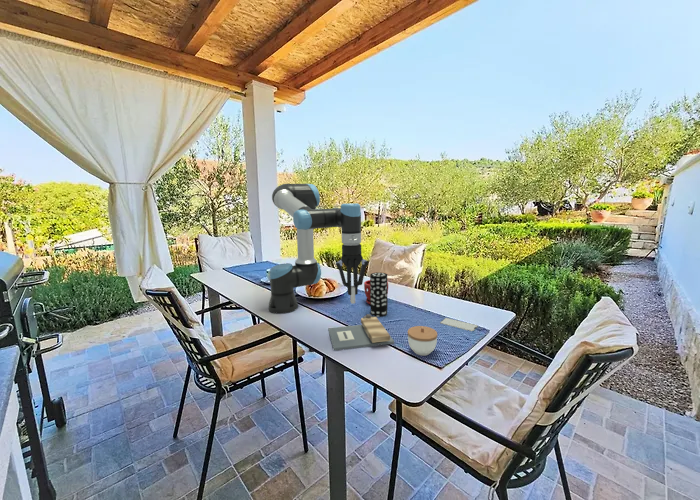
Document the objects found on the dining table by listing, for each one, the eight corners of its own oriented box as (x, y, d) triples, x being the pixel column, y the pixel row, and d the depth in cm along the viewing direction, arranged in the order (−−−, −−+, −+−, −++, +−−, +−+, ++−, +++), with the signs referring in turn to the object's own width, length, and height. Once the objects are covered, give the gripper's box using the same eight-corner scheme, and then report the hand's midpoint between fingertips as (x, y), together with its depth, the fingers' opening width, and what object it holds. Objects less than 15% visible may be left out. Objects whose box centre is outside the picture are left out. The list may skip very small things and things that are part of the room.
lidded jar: (404, 345, 115) (404, 322, 113) (430, 343, 116) (431, 321, 114) (412, 360, 104) (412, 335, 103) (441, 358, 105) (442, 333, 103)
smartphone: (445, 317, 140) (478, 325, 130) (445, 318, 140) (478, 326, 130) (439, 322, 134) (473, 331, 125) (439, 324, 134) (473, 332, 125)
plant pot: (392, 301, 164) (392, 280, 162) (381, 308, 153) (381, 286, 151) (371, 297, 171) (371, 277, 169) (359, 304, 160) (359, 283, 158)
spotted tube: (386, 317, 142) (386, 277, 138) (369, 316, 144) (369, 276, 140) (387, 310, 150) (388, 272, 146) (371, 309, 152) (371, 272, 148)
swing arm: (359, 320, 133) (359, 313, 132) (374, 318, 134) (374, 312, 134) (372, 342, 112) (372, 334, 111) (389, 340, 113) (390, 332, 113)
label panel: (328, 329, 130) (328, 325, 129) (380, 324, 134) (380, 320, 134) (334, 350, 112) (333, 345, 111) (394, 343, 116) (394, 338, 116)
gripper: (336, 246, 108) (338, 307, 112) (370, 244, 111) (371, 304, 115) (333, 243, 116) (335, 300, 120) (365, 241, 118) (366, 298, 122)
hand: (352, 302), depth 117 cm, fingers closed
